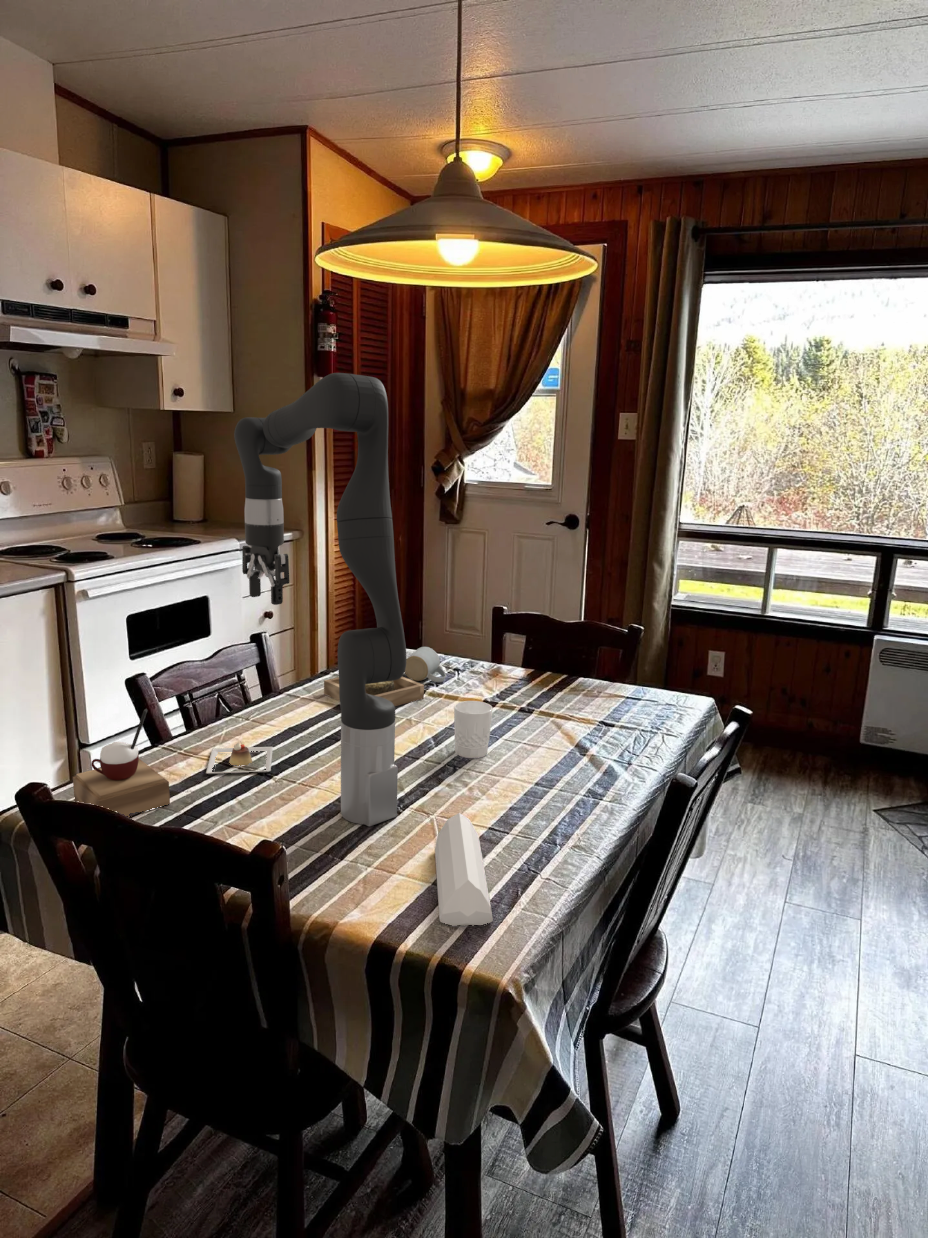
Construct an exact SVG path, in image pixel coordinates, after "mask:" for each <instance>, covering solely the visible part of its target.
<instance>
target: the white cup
mask: <svg viewBox="0 0 928 1238" xmlns="http://www.w3.org/2000/svg"><path fill="white" fill-rule="evenodd" d="M492 715H493V706H492V705H491V704H489V703H486V702H484V701H479V700H465V701H459V702H457V703H456V704H454V706H453V719H454V721H453V723H454V724H453V725H454V726H453V727H454V741H455V745H454V747H455V748H454V750H455V754H456V755H457V756H460V757H462V758H466V759H479V758H480V759H481V758H484V757H485V756H487V754H488V748H489V742H490V737H491V736H490V735H491V725H492V717H493V716H492Z"/></svg>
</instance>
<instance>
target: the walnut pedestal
mask: <svg viewBox="0 0 928 1238" xmlns="http://www.w3.org/2000/svg"><path fill="white" fill-rule="evenodd" d="M97 768H98V769H100V770H101V771H102V769H101V767H97ZM72 784H73V798H74V797H75V799H74V801H75V802H76V801H79V802H84V803H91V804H94V805H98V806H103V807H104V808H109V809H110V810H113V811H117V812H119V813H121V814H124V815H125V816H128V818H130V816H129V814H130V813H135V812H142V811H146V810H150V809H152V808H157V807H160V806H164V805H168V804H170V805H171V798H170V781H169V780H167V779H166V778H165V777H163V776H162V775H161V774H160V773H158V772H157V771H156V770H154V769H153V768H152V767H151V766H150V765H148V764H147V763H146V762H144V761H143V760H142V759H140V758H139V761H138V766H137V770H136V772H135V774H134V775H132V776H131V777H130V778H128V779H125V780H120V781H116V780H111V779H109V778H107V777H106V776H105V775H103V774H101V773H99V772H97V771H96V770H95V769H90V770H87V771H83V772H78V773H76V775H75V776H72ZM168 806H169V805H168ZM164 807H165V806H164Z"/></svg>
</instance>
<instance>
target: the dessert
mask: <svg viewBox="0 0 928 1238" xmlns="http://www.w3.org/2000/svg"><path fill="white" fill-rule="evenodd" d="M273 748H274V747H273V746H255V747H254V746H253V747H252V746H250V747H248V746H245V744H243V743H242V742H237V743H236V744H234V746H233V747H223V748H222V747H221V748H220V747H219V748H218V747H217V748H212V749H211V752H210V756H209V760H208V764H207V767H206V772H205V774H208V775H224V773H231V774H250V773H249V772H258V773H269V772H271V771H272V769H271V768H272V761H273ZM251 751H252V752H251ZM253 751H254V752H253ZM256 751H258V752H256ZM260 751H267V753H266V752H265V760H266V759H267V760H266V764H265V763H264V768H265V767H266V770H264V769H263V770H260V769H259V770H239V771H238V770H237V771H214V772H212V770H213V769H212V768H213V767H214V763H215V759H216V758H215V757H216V756H217V754H218V752H232V753H230V757H229V761H228V764H229V763H230V764H231V765H237V766H239V765H240V766H241V765H247V766H249V765H248V764H249V763H251V764H252V763H253V759H252V755H251V753H261V752H260ZM266 754H267V755H266ZM218 755H219V754H218ZM266 757H267V758H266ZM230 764H229V765H230ZM231 765H230V766H231ZM265 765H266V766H265Z"/></svg>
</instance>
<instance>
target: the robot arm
mask: <svg viewBox="0 0 928 1238" xmlns="http://www.w3.org/2000/svg"><path fill="white" fill-rule="evenodd" d="M387 395H388V394H387V392H386V388H385V386H384V384H383V382H382V381H381V380H380V379H378V378H377V377H373V376H369V375H368V376H367V375H362V374H354V373H346V372H345V373H344V372H333V373H329V374H328V375H326V376H324V377H322V378H321V379H319V380H318V381H317V382H316V383H315V384H314V385H312V386H311V387H310V388H309V389H308V390H307V391H306V392H305V393H304V392H303V394H301V396H299V397H298V398H297V399H296V400H295V401H293V402H292V403H290V404H287V405H284V406H282V407H280V408H278V409H276V410H273V411H272V412H270V413H269V414H268V415H267V416H266V417H253V416H252V417H251V416H250V417H249V416H248V417H243V418H241V419H239V420H238V422H237V424H236V426H235V428H234V432H233V433H234V442H235V446H236V449H237V451H238V452H237V453H238V456H239V459H240V462H241V466H242V470H243V474H244V484H245V487H244V488H245V489H244V491H245V502H244V537H245V538H244V540H245V544H246V545H243V546H242V549H241V550H242V553H241V554H242V558H241V559H242V562H241V563H242V564H241V565H242V568H241V569H242V570H241V571H242V573H243V575H246V578H247V579H248V580H249V581H248V583H249V584H248V585H249V586H248V587H249V592H248V593H249V597H251V598H258V597H260V596H261V595H262V594H261V593H262V592H261V589H262V588H261V586H262V585H261V583H262V582H261V578H260V577H261V575H262V573H264V576H265V577H266V578H268V580H269V583H270V585H271V586H270V601H271V602H270V604H272V605H273V606H274V605H275V606H277V605H282V604H283V603H284V600H283V599H284V597H283V595H284V593H283V592H284V591H283V589H284V588H283V587H284V586H285V585H287V584H290V566H289V564H290V563H289V559H290V558H289V554H288V553H280V551H279V547H280V546H282V545H283V544H284V543H285V533H284V531H285V530H284V525H285V522H284V520H285V519H284V505H283V493H282V492H283V490H282V489H283V486H282V485H283V483H282V482H283V481H282V473H281V471H280V470H279V469H278V468H275V467H271V466H268V465H264V464H263V463H262V460H261V457H260V455H261V456H263V455H264V456H266V455H267V456H269V455H275V456H276V455H282V454H285V453H288V451H289V450H290V449H292V447H293V446H296V445H298V444H301V443H303V442H305V441H308V440H309V439H311V438H312V437H313V435H314V434H315V433H316V431H317V429H332V430H335V431H340V432H355V433H357V459H356V465H355V468H354V471H353V472H352V475H351V478H350V479H349V481H348V483H347V486H346V487H345V489H344V491H343V493H342V496H341V498H340V500H339V502H338V506H337V510H336V524H337V525H336V528H337V539H338V548H339V553H340V555H341V557H342V560H343V561H344V563H345V564H346V566H347V567H348V569H349V570H350V572H351V573H352V574H353V575H354V577H355V578H356V580H357V581H358V582H359V584H360V585H361V586H362V588H363V589H364V590H365V593H366V594H367V595H368V597H369V599H370V601H371V602H370V603H371V604H372V608H373V611H374V615H375V616H374V617H375V619H376V620H375V621H376V627H371V628H370V627H369V628H361V629H359V628H358V629H352V630H351V629H349V630H346V631H344V632H343V633H342V634H341V635H340V637H339V639H338V643H337V668H338V669H337V670H338V677H339V698H340V701H339V706H340V707H339V708H340V815H341V817H343V819H344V820H346V821H348V822H351V823H354V824H360V825H365V826H367V827H372V826H374V825H377V824H380V823H383V822H385V821H387V820H391V819H393V818H396V817H397V816H398V779H399V778H398V777H399V776H398V772H399V771H398V770H399V768H398V765H396V764H395V755H396V754H395V752H396V751H395V750H396V747H395V746H396V744H395V741H396V738H395V737H396V706H394V704H393V703H392V702H391V701H389V700H387V699H385V698H382V697H378V696H374V695H370V694H367V693H366V691H365V684H371V683H379V682H386V681H393V680H398V679H400V678H401V677H404V674H405V669H406V660H407V658H408V657H407V646H406V638H405V637H406V636H405V632H404V624H403V619H402V612H401V607H400V600H399V593H398V592H399V591H398V585H397V573H396V561H395V560H396V559H395V557H396V556H395V540H394V539H395V538H394V525H393V513H392V507H391V496H390V495H391V493H390V482H389V481H390V479H389V453H388V452H389V401H388V396H387Z"/></svg>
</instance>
